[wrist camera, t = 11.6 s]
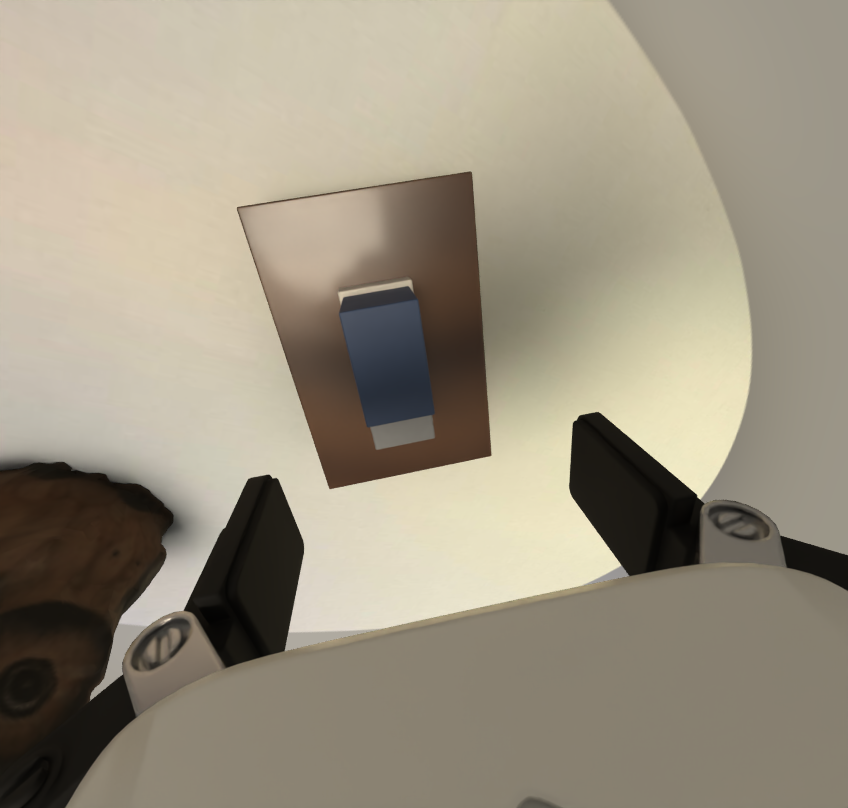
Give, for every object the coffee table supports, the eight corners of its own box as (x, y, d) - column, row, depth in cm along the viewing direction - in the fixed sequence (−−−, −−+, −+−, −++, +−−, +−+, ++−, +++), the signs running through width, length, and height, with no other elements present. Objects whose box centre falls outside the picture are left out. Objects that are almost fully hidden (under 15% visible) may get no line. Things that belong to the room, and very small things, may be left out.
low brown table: (263, 210, 23) (235, 207, 18) (449, 181, 24) (472, 170, 19) (334, 447, 31) (329, 489, 26) (471, 420, 32) (491, 456, 27)
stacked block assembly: (338, 288, 21) (331, 306, 16) (409, 276, 21) (421, 291, 16) (371, 426, 25) (373, 471, 20) (430, 414, 25) (444, 456, 21)
